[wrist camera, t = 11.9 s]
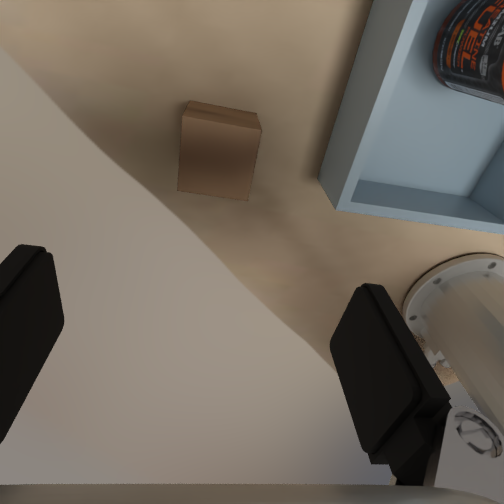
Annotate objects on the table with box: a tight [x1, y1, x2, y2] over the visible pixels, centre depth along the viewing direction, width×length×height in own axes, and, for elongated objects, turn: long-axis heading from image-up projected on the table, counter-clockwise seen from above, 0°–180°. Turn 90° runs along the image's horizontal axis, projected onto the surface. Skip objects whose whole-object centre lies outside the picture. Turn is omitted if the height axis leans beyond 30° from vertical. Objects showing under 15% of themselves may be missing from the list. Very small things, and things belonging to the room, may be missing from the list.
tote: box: [317, 0, 504, 234], centre depth 22 cm, size 18×15×6 cm
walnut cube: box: [177, 101, 262, 201], centre depth 24 cm, size 5×5×5 cm
